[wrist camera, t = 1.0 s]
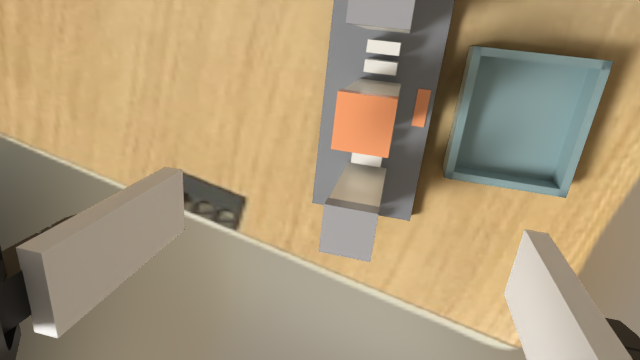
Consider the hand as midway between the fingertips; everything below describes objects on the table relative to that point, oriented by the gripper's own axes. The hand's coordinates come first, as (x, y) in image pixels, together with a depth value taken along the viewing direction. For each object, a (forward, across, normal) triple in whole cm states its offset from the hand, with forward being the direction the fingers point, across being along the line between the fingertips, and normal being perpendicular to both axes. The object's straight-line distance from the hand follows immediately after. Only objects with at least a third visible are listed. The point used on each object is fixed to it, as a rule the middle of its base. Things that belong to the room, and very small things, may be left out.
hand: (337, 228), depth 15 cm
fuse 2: (+19, 0, -6) cm, 20 cm away
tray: (+21, +11, +2) cm, 23 cm away
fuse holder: (+21, 0, +2) cm, 21 cm away
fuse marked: (+20, 0, +2) cm, 20 cm away
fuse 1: (+20, 0, +9) cm, 22 cm away
